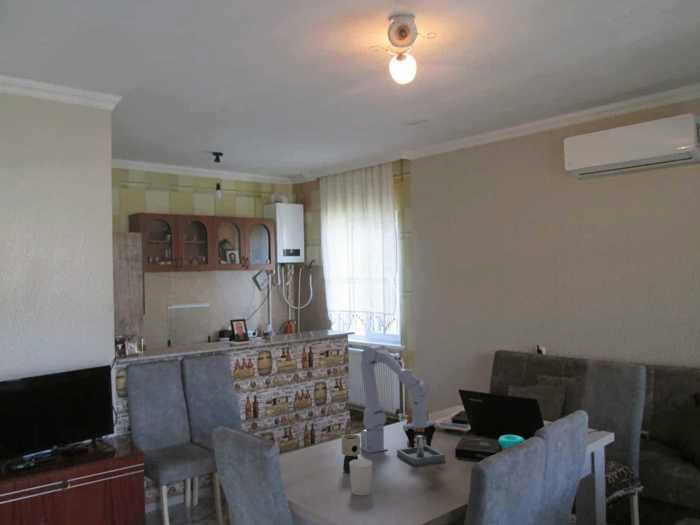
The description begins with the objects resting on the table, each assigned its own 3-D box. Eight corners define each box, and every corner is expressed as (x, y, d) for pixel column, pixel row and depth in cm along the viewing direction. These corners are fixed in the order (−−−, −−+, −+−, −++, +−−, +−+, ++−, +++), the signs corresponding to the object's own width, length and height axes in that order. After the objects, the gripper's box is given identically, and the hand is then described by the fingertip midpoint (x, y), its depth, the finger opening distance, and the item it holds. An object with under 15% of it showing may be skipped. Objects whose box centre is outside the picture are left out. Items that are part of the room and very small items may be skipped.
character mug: (350, 477, 204) (350, 441, 204) (335, 473, 208) (334, 439, 209) (367, 468, 213) (366, 434, 213) (351, 465, 217) (351, 432, 218)
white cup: (359, 485, 196) (359, 457, 196) (377, 491, 191) (376, 461, 191) (345, 492, 190) (344, 463, 190) (363, 498, 185) (362, 468, 185)
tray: (414, 466, 215) (414, 459, 215) (397, 455, 228) (396, 449, 228) (444, 460, 220) (444, 454, 220) (426, 450, 233) (426, 445, 233)
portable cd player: (501, 449, 234) (501, 440, 234) (496, 462, 218) (496, 452, 218) (462, 446, 240) (462, 436, 240) (455, 458, 224) (455, 448, 224)
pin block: (415, 450, 234) (415, 445, 234) (407, 445, 241) (407, 441, 241) (431, 448, 237) (431, 443, 237) (422, 443, 244) (422, 438, 244)
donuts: (521, 433, 221) (528, 441, 211) (522, 459, 221) (528, 467, 211) (496, 433, 222) (501, 441, 212) (496, 459, 222) (502, 467, 212)
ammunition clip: (406, 432, 261) (406, 407, 261) (407, 431, 262) (407, 406, 263) (428, 435, 256) (427, 409, 256) (429, 434, 258) (428, 408, 258)
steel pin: (418, 457, 222) (418, 437, 222) (415, 455, 225) (415, 435, 225) (425, 456, 223) (424, 437, 223) (422, 454, 226) (421, 434, 226)
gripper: (408, 416, 218) (409, 451, 218) (440, 412, 224) (441, 446, 223) (400, 412, 224) (400, 446, 224) (430, 408, 230) (431, 441, 230)
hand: (420, 446), depth 224 cm, fingers open, 7 cm apart
